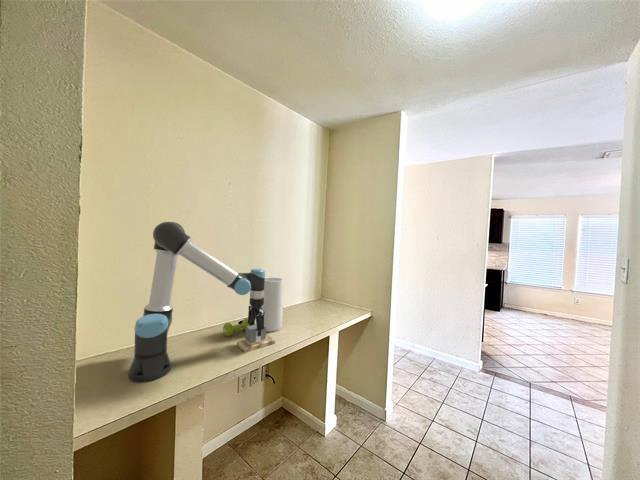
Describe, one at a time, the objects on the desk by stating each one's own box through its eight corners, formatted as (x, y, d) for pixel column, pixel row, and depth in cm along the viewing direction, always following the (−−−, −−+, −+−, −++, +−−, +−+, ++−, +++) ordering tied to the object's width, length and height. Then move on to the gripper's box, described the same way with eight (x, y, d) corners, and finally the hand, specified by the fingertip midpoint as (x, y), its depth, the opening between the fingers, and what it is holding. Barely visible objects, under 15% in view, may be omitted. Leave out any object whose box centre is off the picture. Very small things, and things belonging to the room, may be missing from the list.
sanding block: (250, 345, 138) (251, 330, 138) (245, 341, 143) (245, 326, 142) (265, 340, 145) (266, 326, 144) (259, 337, 149) (260, 323, 149)
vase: (268, 334, 158) (271, 282, 157) (254, 327, 168) (256, 278, 167) (286, 328, 169) (288, 279, 168) (272, 322, 179) (274, 276, 177)
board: (245, 352, 134) (245, 348, 134) (236, 345, 142) (236, 341, 142) (275, 343, 146) (275, 340, 146) (265, 337, 154) (266, 334, 154)
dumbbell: (227, 338, 150) (228, 326, 150) (221, 334, 155) (221, 322, 155) (252, 331, 162) (253, 320, 161) (246, 327, 167) (246, 316, 167)
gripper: (272, 300, 138) (270, 343, 139) (254, 292, 152) (252, 332, 153) (259, 302, 133) (257, 347, 134) (242, 294, 147) (240, 335, 148)
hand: (254, 339), depth 143 cm, fingers closed on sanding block, 6 cm apart
